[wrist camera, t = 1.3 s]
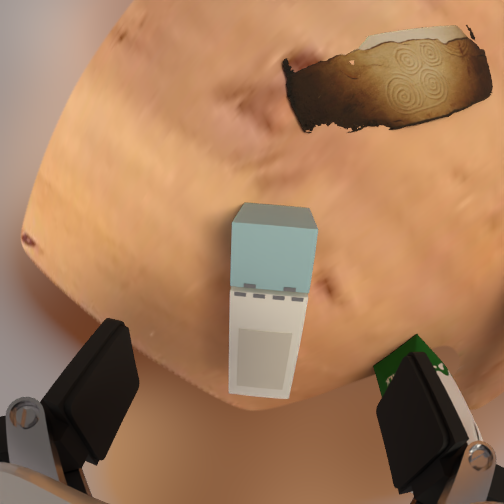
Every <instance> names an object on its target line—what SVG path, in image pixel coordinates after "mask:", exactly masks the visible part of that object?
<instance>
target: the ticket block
mask: <svg viewBox="0 0 504 504" xmlns="http://www.w3.org/2000/svg"><path fill="white" fill-rule="evenodd" d="M307 302H308V293H302V292H289V291H278V290H266V289H255V288H245V287H235V286H231V289H230V316H229V393H231V394H239V395H247V396H257V397H267V398H280V399H289V394H290V390H291V385H292V381H293V376H294V371H295V366H296V362H297V357H298V352H299V346H300V341H301V336H302V331H303V325H304V319H305V314H306V308H307Z"/></svg>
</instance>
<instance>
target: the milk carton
mask: <svg viewBox="0 0 504 504" xmlns="http://www.w3.org/2000/svg"><path fill="white" fill-rule="evenodd" d="M409 352H425V353H426V354H427V356H428V358H429V359H430V361H431V363H432V365H433V367H434V368H435V370H436V372H437V374H438V376H439V378H440V380H441V381H442V383H443V385H444V387H445V389H446V391H447V393H448V395H449V397H450V399H451V401H452V403H453V405H454V407H455V409H456V411H457V413H458V415H459V417H460V419H461V421H462V424H463V426H464V428H465V430H466V432H467V435H468V437H469V440H468V441H467V443H468V445H469V444H470V443H472V442H474V441H483V439H482V436H481V434H480V431H479V429H478V426H477V424H476V423H475V421H474V419H473V416H472V414H471V412H470V410H469V408H468V406H467V404H466V402H465V400H464V398H463V396H462V394H461V392H460V390H459V388H458V386H457V384H456V382H455V381H454V379H453V377H452V375H451V374H450V372H449V371H448V369H447V367H446V366H445V365H444V363H443V362H442V361H441V360H440V359H439V358H438V357H437V355H436V354H435V353H434V352H433V351H432V350H431V349H430V348H429V347H428V345H427V344H426V343H425V342H424V341H423V340H422V339H421V338H420V337H419V336H418V334H416V335H415V336H413V337H412V338H411V339H410V340H408V341H407V342H406V343H405V344H403V345H402V346H401V347H399V348H398V349H397V350H395V351H394V352H393V353H391V354H390V355H388V356H387V357H386V358H384V359H383V360H381V361H380V362H379V363H377V364H376V365H374V366H373V367H374V371H375V374H376V377H377V381H378V384H379V388H380V392H381V395H382V397H383V395H384V393H385V391H386V390H387V388H388V386H389V384H390V382H391V380H392V379H393V377H394V375H395V373H396V371H397V369H398V367H399V365H400V363H401V361H402V359H403V357H405V356H407V354H408V353H409ZM411 493H413V491H412V492H411Z"/></svg>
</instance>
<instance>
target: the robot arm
mask: <svg viewBox="0 0 504 504" xmlns="http://www.w3.org/2000/svg"><path fill="white" fill-rule="evenodd" d="M138 388H139V377H138V373H137V368H136V364H135V360H134V354H133V349H132V344H131V338H130V333H129V328H128V327H126V326H125V324H124V322H122V321H119V320H115V319H110V318H107V319H105V320H104V322H103V323H102V324H101V325H100V326H99V328H98V329H97V330H96V331H95V333H94V334H93V335H92V336H91V337H90V338H89V340H88V341H87V342H86V343H85V345H84V346H83V347H82V348H81V349H80V351H79V352H78V353H77V355H76V356H75V357H74V358H73V360H72V361H71V362H70V363H69V364H68V366H67V367H66V369H65V370H64V371H63V372H62V373H61V375H60V376H59V378H58V379H57V380H56V381H55V383H54V384H53V385H52V387H51V388H50V389H49V391H48V392H47V393H46V395H45V396H44V398H43V399H42V400H41V402H39V401H38V400H36V399H35V398H31V397H21V398H19V399H16V400H15V401H13V402H12V403H11V404H10V405H9V407H8V409H7V411H6V416H1V417H0V504H108V503H105V502H103V501H101V500H98V499H96V498H93V497H92V494H91V492H90V489H89V487H88V484H87V481H86V478H85V476H84V473H83V470H82V466H83V464H84V462H85V461H87V462H89V463H92V464H94V465H97V464H98V462H99V460H103V459H104V458H105V457H106V455H107V452H108V450H109V448H110V446H111V444H112V442H113V440H114V438H115V436H116V433H117V431H118V429H119V427H120V425H121V423H122V421H123V419H124V417H125V415H126V413H127V411H128V409H129V407H130V405H131V403H132V400H133V399H134V397H135V394H136V393H137V390H138ZM376 414H377V418H378V422H379V425H380V429H381V433H382V437H383V441H384V445H385V449H386V453H387V457H388V462H389V466H390V470H391V474H392V479H393V484H394V486H395V488H398V491H399V494H403V493H408V492H412V491H413V494H414V498H413V500H412V501H411V503H410V504H504V468H503V467H501V466H499V465H497V464H496V454H495V451H494V450H493V448H492V447H491V446H490V445H489V444H488V443H486V442H484V441H474V442H472V443H470V444H469V445H468V443H467V441H468V440H469V437H468V435H467V432H466V430H465V428H464V426H463V424H462V421H461V419H460V417H459V415H458V413H457V411H456V409H455V407H454V405H453V403H452V401H451V399H450V397H449V395H448V393H447V391H446V389H445V387H444V385H443V383H442V381H441V380H440V378H439V376H438V374H437V372H436V370H435V368H434V367H433V365H432V363H431V361H430V359H429V358H428V356H427V354H426V353H425V352H409V353H408V354H407V356H405V357H403V359H402V361H401V363H400V365H399V367H398V369H397V371H396V373H395V375H394V377H393V379H392V380H391V382H390V384H389V386H388V388H387V390H386V391H385V393H384V395H383V397H382V399H381V400H380V402H379V404H378V406H377V410H376Z"/></svg>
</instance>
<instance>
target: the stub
mask: <svg viewBox="0 0 504 504" xmlns="http://www.w3.org/2000/svg"><path fill="white" fill-rule="evenodd" d="M317 235H318V228H317V225H316V223H315V221H314V218H313V216H312V213H311V211H310V209H309V208H303V207H293V206H281V205H269V204H257V203H244V204H243V206H242V207H241V209H240V211H239V212H238V214H237V215H236V217H235V218H234V220H233V222H232V238H231V272H230V286H235V287H245V288H255V289H266V290H278V291H289V292H302V293H309V290H310V284H311V277H312V271H313V264H314V257H315V250H316V242H317Z"/></svg>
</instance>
